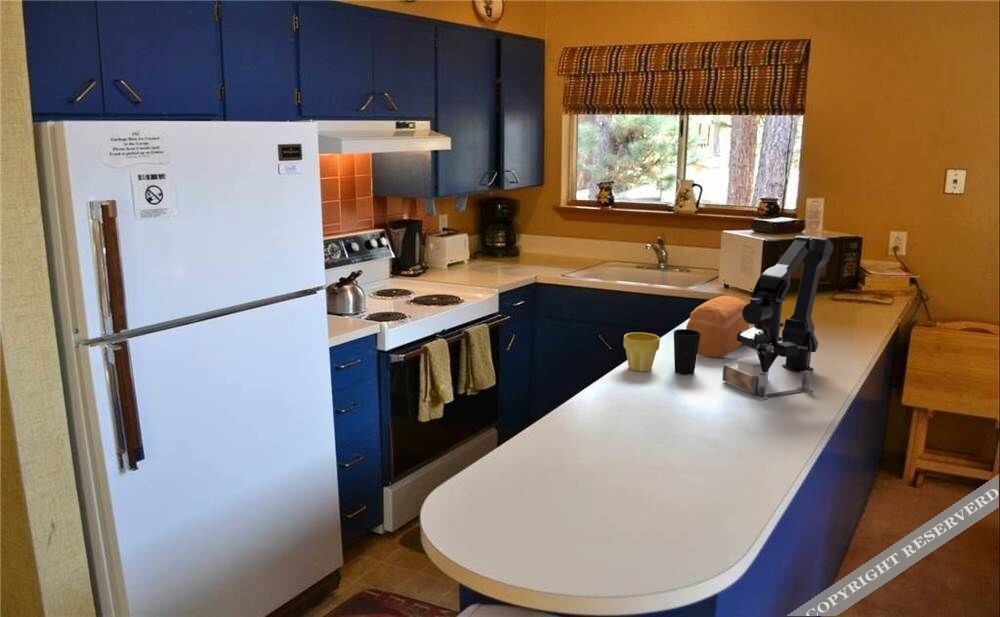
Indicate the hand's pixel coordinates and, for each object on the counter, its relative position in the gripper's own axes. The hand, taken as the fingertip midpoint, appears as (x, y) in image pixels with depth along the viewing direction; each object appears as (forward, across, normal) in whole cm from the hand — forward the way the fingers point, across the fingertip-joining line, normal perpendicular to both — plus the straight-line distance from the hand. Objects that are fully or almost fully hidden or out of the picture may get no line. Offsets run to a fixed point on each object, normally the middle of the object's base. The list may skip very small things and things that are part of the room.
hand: (764, 372), depth 230 cm
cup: (+3, -17, -15) cm, 22 cm away
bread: (+3, -34, +12) cm, 37 cm away
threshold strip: (+3, +10, -2) cm, 10 cm away
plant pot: (+3, -25, -25) cm, 35 cm away
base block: (+3, -4, 0) cm, 5 cm away
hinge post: (+3, +10, -10) cm, 14 cm away
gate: (+3, +2, -10) cm, 10 cm away
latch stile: (+3, +10, +6) cm, 12 cm away
